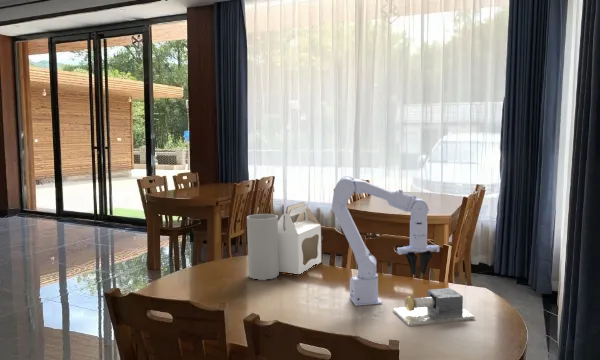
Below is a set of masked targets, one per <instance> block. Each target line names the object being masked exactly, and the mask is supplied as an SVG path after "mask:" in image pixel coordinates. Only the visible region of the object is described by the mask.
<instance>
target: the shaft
mask: <svg viewBox="0 0 600 360" xmlns="http://www.w3.org/2000/svg"><path fill="white" fill-rule="evenodd" d="M433 306H436V297H427V296H426V297H416V298H414V297H413V296H411V295H410V296H409V295H408V296H406V297H405V299H404V307H406V309H407V311H414V309H415V308H422V307H433Z"/></svg>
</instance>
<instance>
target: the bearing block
mask: <svg viewBox="0 0 600 360" xmlns="http://www.w3.org/2000/svg"><path fill="white" fill-rule="evenodd" d="M426 291H427V292H426V293H427V295H426V297H436V306H433V307H422V308H415V309H414V311H407V309H406V307H405V306H404V307H394V308H392V310H393V311H392V312H393V313H394V314H396V315H397V317H399V319H400V320H402V322H404V323H405V324H406V325H407V326H408V327H413V326H422V325H432V324H441V323H442V324H443V323H451V322H452V323H453V322H460V321H461V322H463V321H471V320H476V319H475V317H476V316H475V315H473V314H472V313H471V312H470V311H468V310H466V309H465V308H464V306H463V305H464V304H463V303H464V302H463V300H464V298H463V295H462V294H460V293H458V292H457V291H456V290H454V289H452V288H450V287H446V288H444V287H443V288H434V289H433V288H432V289H427V290H426Z"/></svg>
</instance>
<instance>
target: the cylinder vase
mask: <svg viewBox="0 0 600 360" xmlns="http://www.w3.org/2000/svg"><path fill="white" fill-rule="evenodd" d="M278 217H279V216H278V215H276V214H273V213H259V214H249V215H247V216H246V228H247V229H246V232H247V235H246V237H247V238H246V239H247V262H248V263H247V265H248V267H247V268H248V270H247V272H248V278H249V279H251V278H253V279H252V280H254V279H258V280H257V281H267V280H266V279H271V280H274V279H277V278H278V277H279V274H280V273H279V254H278V221H279V218H278ZM277 276H278V277H277ZM273 278H274V279H273Z"/></svg>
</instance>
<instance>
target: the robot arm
mask: <svg viewBox="0 0 600 360" xmlns="http://www.w3.org/2000/svg"><path fill="white" fill-rule="evenodd" d="M354 193H355V195H360V194H368V195H370V196H373V197H376V198H379V199H383V200H385V201H387V204H388V205H389V206H390V207H393V208H395V209H398V210H400V211H403V212H406V213H408V212H409V213H410V221H409V245H406V246H405V245H404V246H402V247H397V248H396V253H397V254H398V255H405V258H406V259H407V262H408V264H409V265H408V266H409V268H410V273H411V274H412V275H413V276H415V275H416V274H417V260H418V256H417V255H416V254H417V253H418V254H419V261H420V266H419V267H420V268H419V269H420V273H421V274H422V275H425V274H426V272H427V268H428V265H429V263H430V260H432V257H433V253H435V252H436V253H439V252H440V245H437V244H428V213H429V210H430V209H429V206H428V203H427V202H426V201H425V200H424V199H423V198H421V197H417V195H411V194H408V193H405V192H404V190H402V189H400V188H399V189H394V190H387V189H384V188H383V187H380V186H378V185H375V184H373V183H370V182H368V181H366V180H364V179H359V178H353V177H352V176H349V175H348V176H347V175H346V176H343V177H341V178H340V179H339V181H338V182H337V183H336V185H335V186H334V189H333V197H332V202H331V209H332V211H333V213H334V215H335V217H336V219H337V222H338V224H339V226H340V228H341V229H342V233H343V234H344V235H345V238H346V240H347V242H348V244H349V246H350V248H351V251H352V252H353V255H354V256H353V257H354V259H355V263H356V265H357V273H356V275H355V276H351V277H350V279H349V298H348V299H350V300H351V302H353V304H354V305H355V306H356V307H358V306H368V305H369V306H370V305H379V304H383V302H382V300H381V299H380V298H379V274H378V273H377V272H378V271H377V270H378V269H377V264H378V263H377V261H378V260H377V258H376V256H374V255H373V254H371V252H370V250H369V249H368V247H367V246H366V244H365V242H364V240H363V237H362V236H361V234H360V232H359V230H358V227H357V225H356V223H355V221H354V219H353V216H352V215H351V213H350V210H349V208H348V207H347V205H348V203H349V200H350V198H351V197H352V196H353V195H354ZM432 252H433V253H432Z"/></svg>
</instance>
